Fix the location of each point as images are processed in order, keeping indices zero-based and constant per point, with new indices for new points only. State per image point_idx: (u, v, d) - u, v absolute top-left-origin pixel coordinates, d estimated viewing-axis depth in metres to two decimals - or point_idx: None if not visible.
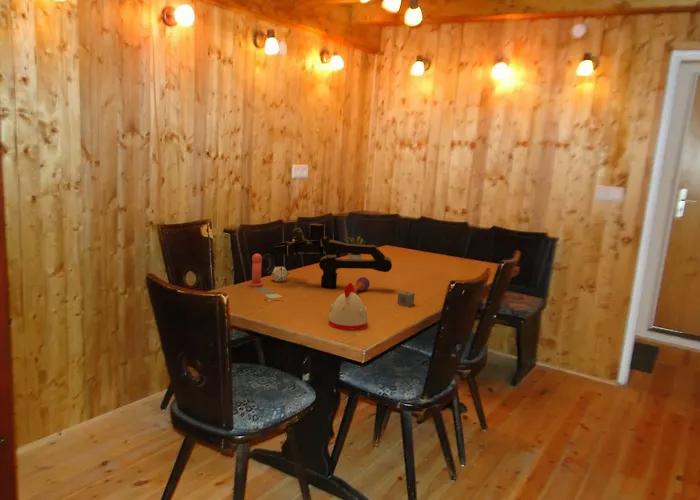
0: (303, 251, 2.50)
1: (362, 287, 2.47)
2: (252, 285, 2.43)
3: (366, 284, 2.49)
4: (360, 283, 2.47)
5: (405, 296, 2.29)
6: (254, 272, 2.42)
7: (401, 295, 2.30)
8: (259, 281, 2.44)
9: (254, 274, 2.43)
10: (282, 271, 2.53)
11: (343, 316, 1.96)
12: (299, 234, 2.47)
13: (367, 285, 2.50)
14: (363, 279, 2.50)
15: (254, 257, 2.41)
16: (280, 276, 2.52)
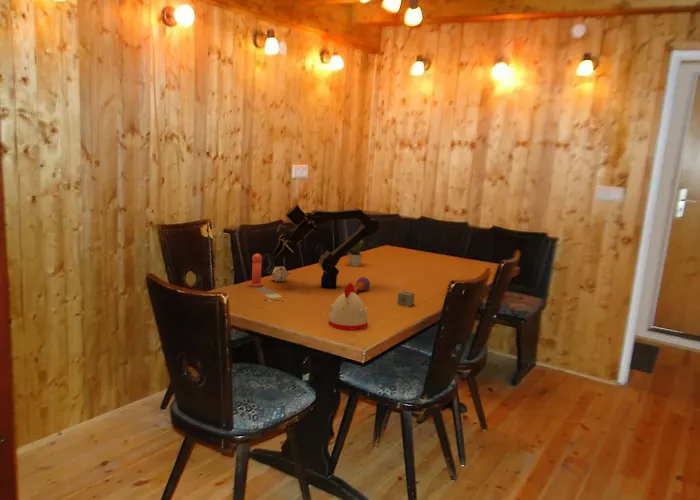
0: (300, 239, 2.45)
1: (362, 287, 2.47)
2: (252, 285, 2.43)
3: (366, 284, 2.49)
4: (360, 283, 2.47)
5: (405, 296, 2.29)
6: (254, 272, 2.42)
7: (401, 295, 2.30)
8: (259, 281, 2.44)
9: (254, 274, 2.43)
10: (282, 271, 2.53)
11: (343, 316, 1.96)
12: (286, 229, 2.40)
13: (367, 285, 2.50)
14: (363, 279, 2.50)
15: (254, 257, 2.41)
16: (280, 276, 2.52)
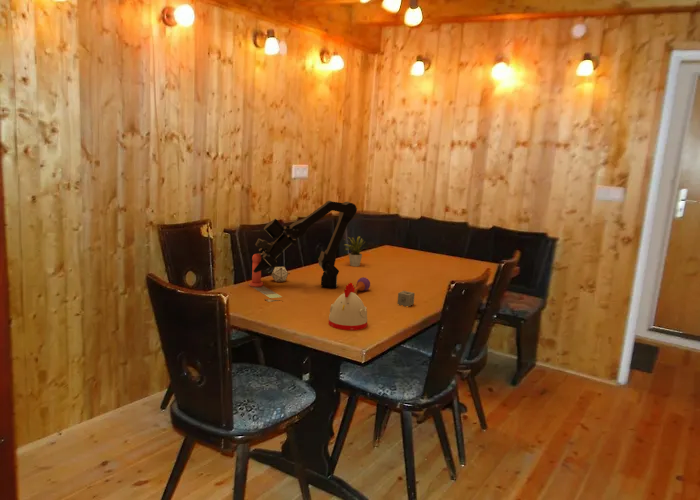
0: (279, 253, 2.43)
1: (362, 287, 2.47)
2: (252, 285, 2.43)
3: (366, 284, 2.49)
4: (360, 283, 2.47)
5: (405, 296, 2.29)
6: (254, 272, 2.42)
7: (401, 295, 2.30)
8: (259, 281, 2.44)
9: (254, 274, 2.43)
10: (282, 271, 2.53)
11: (343, 316, 1.96)
12: (264, 243, 2.39)
13: (367, 285, 2.49)
14: (363, 279, 2.50)
15: (254, 257, 2.41)
16: (280, 276, 2.52)
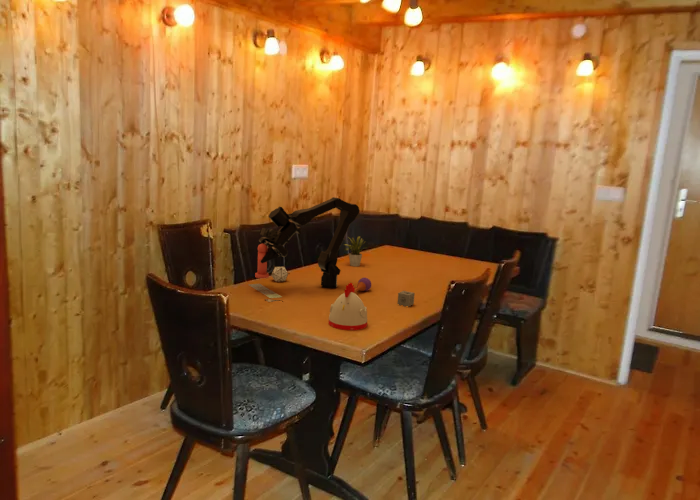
0: (285, 242, 2.37)
1: (363, 287, 2.47)
2: (259, 276, 2.34)
3: (367, 284, 2.49)
4: (361, 283, 2.47)
5: (405, 296, 2.29)
6: (261, 263, 2.34)
7: (401, 295, 2.30)
8: (265, 272, 2.36)
9: (261, 265, 2.34)
10: (282, 271, 2.53)
11: (343, 316, 1.96)
12: (273, 232, 2.31)
13: (368, 286, 2.49)
14: (364, 279, 2.49)
15: (261, 247, 2.32)
16: (280, 277, 2.52)
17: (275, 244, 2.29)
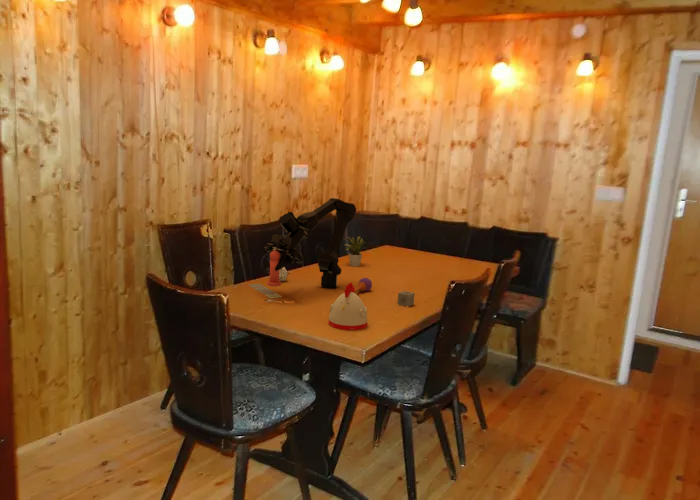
0: (295, 247, 2.32)
1: (364, 288, 2.46)
2: (273, 284, 2.27)
3: (368, 285, 2.48)
4: (362, 284, 2.47)
5: (405, 296, 2.29)
6: (274, 270, 2.27)
7: (401, 295, 2.30)
8: (278, 279, 2.29)
9: (274, 272, 2.27)
10: (282, 271, 2.53)
11: (343, 316, 1.96)
12: (287, 238, 2.25)
13: (369, 286, 2.49)
14: (365, 280, 2.49)
15: (274, 254, 2.25)
16: (280, 276, 2.52)
17: (291, 250, 2.24)
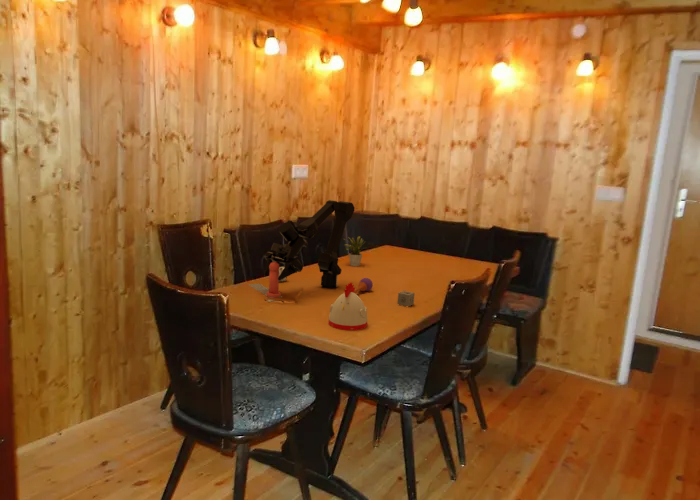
0: (295, 256, 2.33)
1: (364, 288, 2.46)
2: (273, 296, 2.28)
3: (368, 285, 2.48)
4: (362, 284, 2.46)
5: (405, 296, 2.29)
6: (274, 282, 2.27)
7: (401, 295, 2.30)
8: (278, 290, 2.30)
9: (274, 284, 2.28)
10: None
11: (343, 316, 1.96)
12: (287, 247, 2.26)
13: (370, 286, 2.48)
14: (366, 280, 2.49)
15: (274, 266, 2.26)
16: None
17: (291, 259, 2.25)
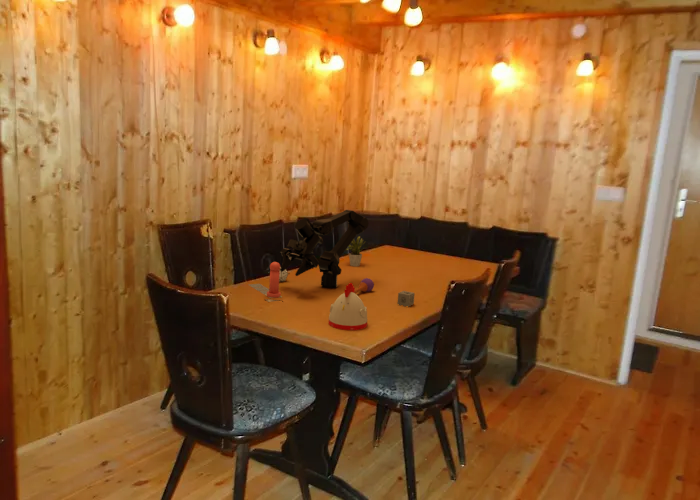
0: (311, 252, 2.39)
1: (365, 288, 2.46)
2: (273, 296, 2.28)
3: (369, 285, 2.48)
4: (363, 284, 2.46)
5: (405, 296, 2.29)
6: (274, 282, 2.28)
7: (401, 295, 2.30)
8: (278, 291, 2.30)
9: (274, 284, 2.28)
10: None
11: (343, 316, 1.96)
12: (303, 244, 2.32)
13: (370, 286, 2.48)
14: (367, 280, 2.48)
15: (274, 266, 2.26)
16: (280, 276, 2.52)
17: (307, 255, 2.31)
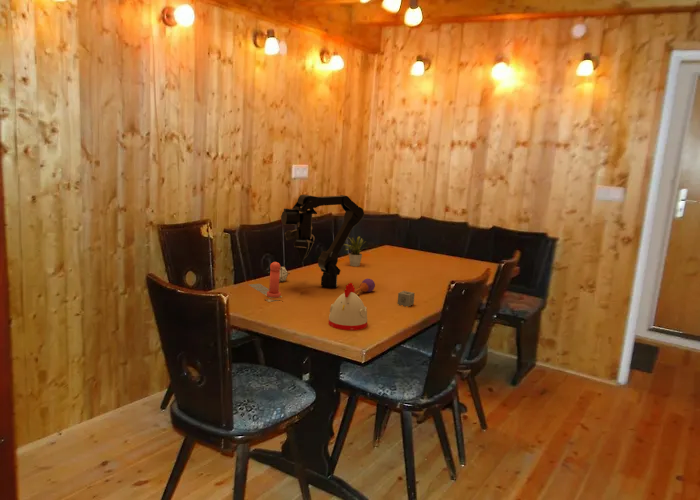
0: (308, 231, 2.41)
1: (365, 288, 2.45)
2: (273, 296, 2.28)
3: (370, 285, 2.47)
4: (364, 284, 2.46)
5: (405, 296, 2.29)
6: (274, 282, 2.27)
7: (401, 295, 2.30)
8: (278, 291, 2.30)
9: (274, 284, 2.28)
10: (282, 271, 2.53)
11: (343, 316, 1.96)
12: (288, 233, 2.40)
13: (371, 287, 2.47)
14: (368, 280, 2.48)
15: (275, 266, 2.26)
16: (280, 276, 2.52)
17: None
